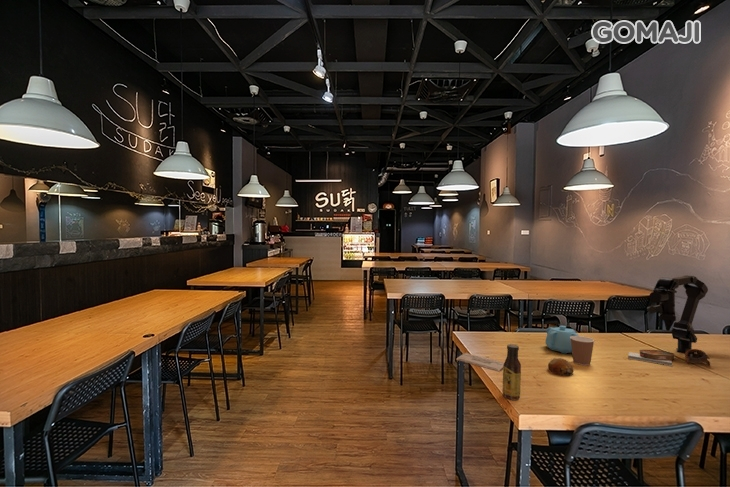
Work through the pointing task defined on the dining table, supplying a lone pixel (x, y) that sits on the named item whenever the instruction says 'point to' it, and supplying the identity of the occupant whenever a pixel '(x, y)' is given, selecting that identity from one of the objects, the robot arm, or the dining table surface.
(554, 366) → the bread roll
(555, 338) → the decorative pot
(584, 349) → the coffee cup
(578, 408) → the dining table surface
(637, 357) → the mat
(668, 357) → the tin
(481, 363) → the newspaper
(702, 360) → the pottery mug
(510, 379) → the sauce bottle
